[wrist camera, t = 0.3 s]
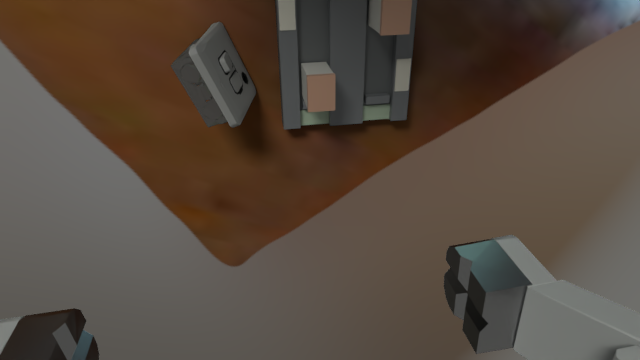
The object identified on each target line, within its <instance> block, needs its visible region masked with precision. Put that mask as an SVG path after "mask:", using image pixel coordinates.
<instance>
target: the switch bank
mask: <svg viewBox="0 0 640 360" xmlns="http://www.w3.org/2000/svg"><path fill="white" fill-rule="evenodd" d="M275 8H276V25H277V42H278V58H279V75H280V92H281V109H282V123H283V127H284V129H296V128H301V125H313V124H326V123H329V124H330V126H334V125H347V124H360V123H362V122H363V121H365V120H378V119H390V121H398V120H406V119H407V108H408V97H409V86H410V75H411V64H412V53H413V42H414V31H415V20H416V9H417V0H412V8H411V19H410V31H409V34H403V35H383V36H381V35H380V34H379V33H378V32H377V31H375V30H374V29H373V28H371V27H370V26H369V25H368V10H369V0H275ZM312 62H326V63H327V64H328V66H329V67H330V69H331V70H332V71H333V73H335V110H334V111H321V112H308V111H307V107H306V104H305V102H304V99H303V97H302V78H301V63H312Z"/></svg>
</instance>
